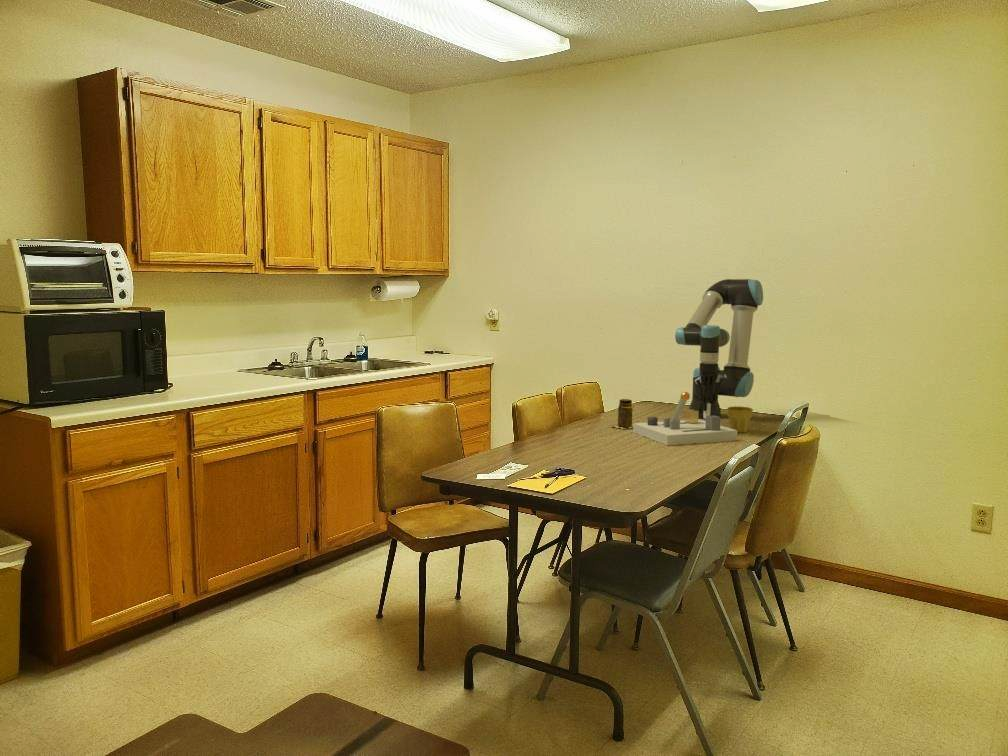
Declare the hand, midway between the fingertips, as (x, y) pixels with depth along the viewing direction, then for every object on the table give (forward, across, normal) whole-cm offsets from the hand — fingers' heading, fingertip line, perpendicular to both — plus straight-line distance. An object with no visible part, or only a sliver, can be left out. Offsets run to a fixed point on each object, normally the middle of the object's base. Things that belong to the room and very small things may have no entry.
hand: (706, 418), depth 325 cm
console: (+6, -16, -7) cm, 18 cm away
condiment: (+6, -29, +18) cm, 35 cm away
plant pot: (+6, +14, -4) cm, 15 cm away
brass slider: (+1, -8, 0) cm, 8 cm away
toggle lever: (0, -22, -7) cm, 23 cm away
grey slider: (+1, -7, -15) cm, 17 cm away
